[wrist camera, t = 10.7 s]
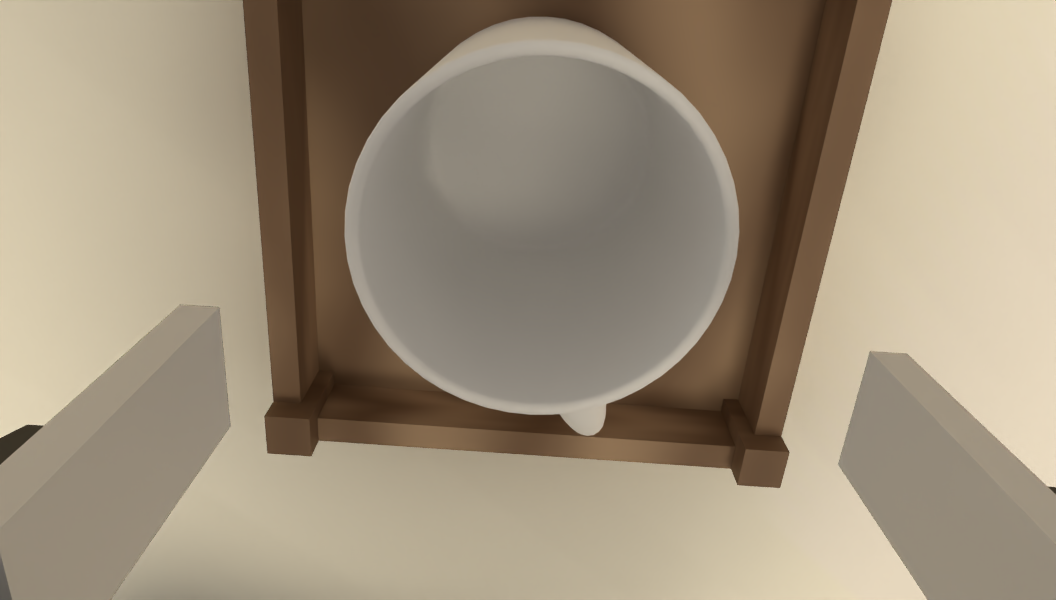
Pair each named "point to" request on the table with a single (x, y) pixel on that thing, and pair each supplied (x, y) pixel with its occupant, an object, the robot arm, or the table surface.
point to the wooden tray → (682, 60)
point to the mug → (542, 222)
